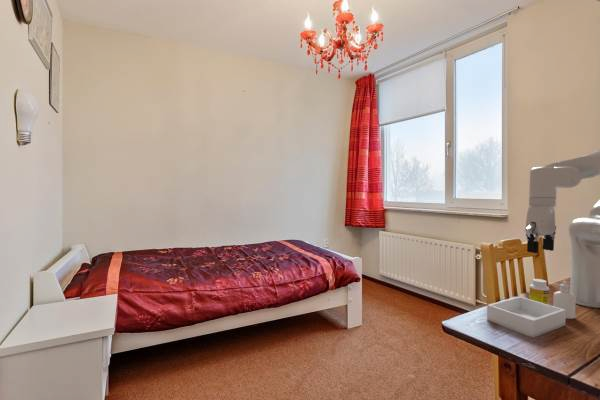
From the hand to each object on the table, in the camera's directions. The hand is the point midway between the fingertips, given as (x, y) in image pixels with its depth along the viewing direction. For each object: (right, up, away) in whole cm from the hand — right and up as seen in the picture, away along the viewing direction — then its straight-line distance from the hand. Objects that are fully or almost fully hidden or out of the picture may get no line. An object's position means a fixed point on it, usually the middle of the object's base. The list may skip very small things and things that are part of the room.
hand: (540, 251), depth 111 cm
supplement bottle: (0, -21, +1) cm, 21 cm away
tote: (-13, -21, -10) cm, 27 cm away
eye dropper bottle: (+4, -21, -6) cm, 22 cm away
